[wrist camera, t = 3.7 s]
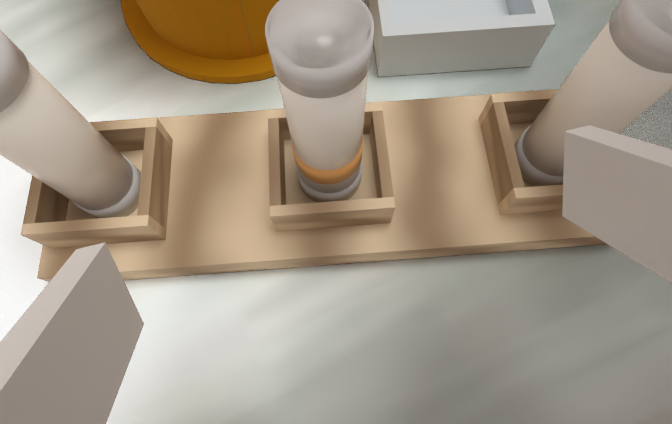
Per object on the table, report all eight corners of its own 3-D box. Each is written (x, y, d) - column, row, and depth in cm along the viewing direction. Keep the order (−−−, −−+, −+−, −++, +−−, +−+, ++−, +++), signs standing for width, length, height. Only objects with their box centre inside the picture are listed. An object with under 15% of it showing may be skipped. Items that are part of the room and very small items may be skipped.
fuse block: (567, 105, 30) (603, 61, 26) (609, 243, 27) (659, 218, 22) (81, 140, 30) (38, 101, 26) (59, 284, 26) (4, 267, 22)
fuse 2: (565, 131, 27) (721, -42, 16) (582, 186, 26) (765, 40, 15) (505, 135, 27) (619, -35, 16) (518, 191, 26) (653, 48, 15)
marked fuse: (358, 145, 27) (368, -18, 16) (364, 202, 26) (379, 67, 14) (297, 150, 27) (264, -11, 16) (299, 207, 26) (265, 75, 14)
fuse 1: (148, 161, 27) (9, 6, 16) (143, 218, 26) (-13, 95, 14) (87, 165, 27) (-97, 14, 16) (78, 223, 26) (-129, 103, 14)
